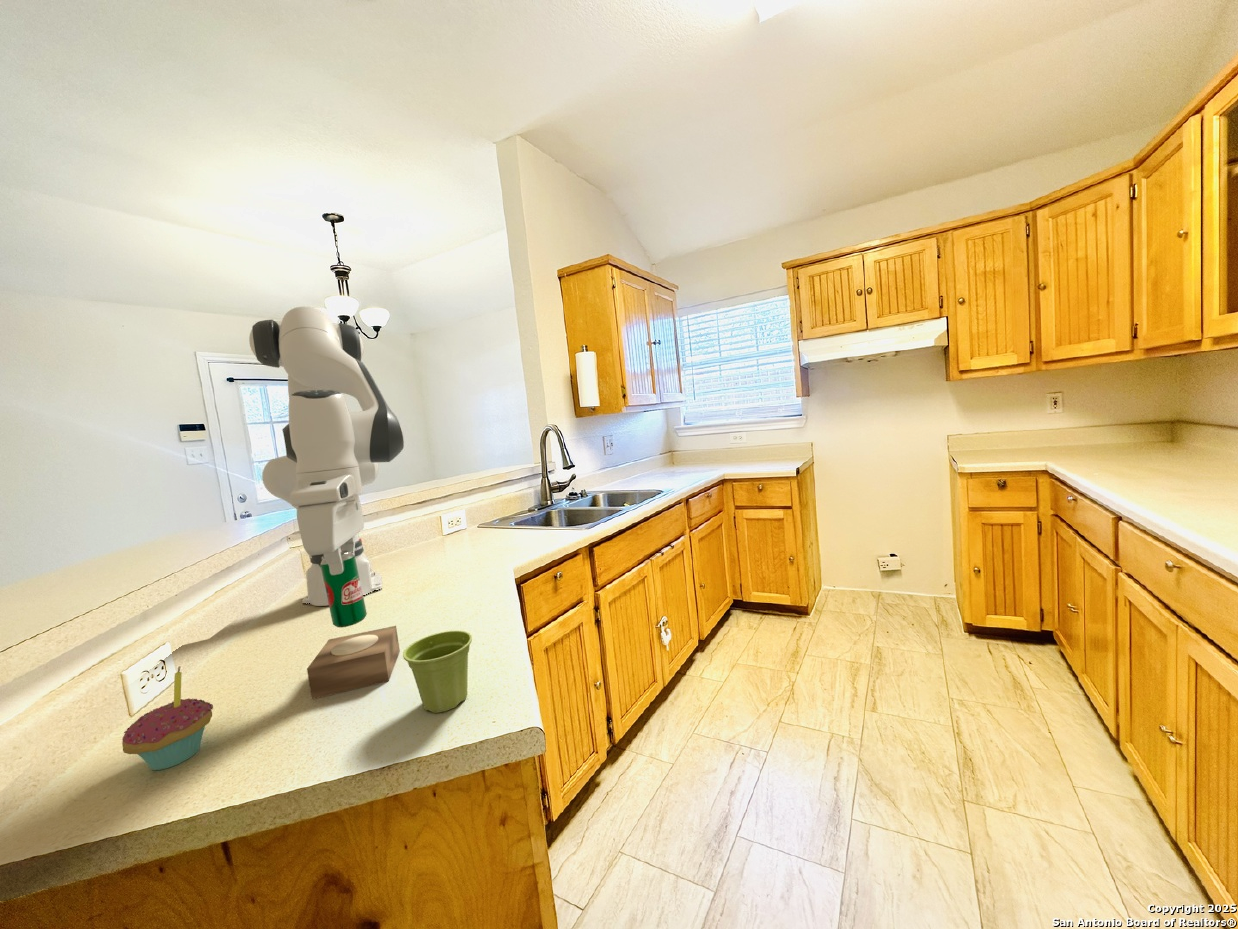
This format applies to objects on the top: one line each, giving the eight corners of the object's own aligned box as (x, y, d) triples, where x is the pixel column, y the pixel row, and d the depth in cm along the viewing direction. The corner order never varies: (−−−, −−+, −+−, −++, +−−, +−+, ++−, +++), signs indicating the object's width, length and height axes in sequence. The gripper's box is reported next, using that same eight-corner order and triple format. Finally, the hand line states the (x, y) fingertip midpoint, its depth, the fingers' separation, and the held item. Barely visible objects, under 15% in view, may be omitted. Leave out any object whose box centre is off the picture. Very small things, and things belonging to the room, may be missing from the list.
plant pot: (413, 694, 70) (405, 639, 69) (477, 676, 73) (470, 624, 72) (408, 729, 61) (399, 668, 60) (481, 708, 64) (473, 649, 63)
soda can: (351, 628, 74) (336, 557, 73) (326, 629, 75) (311, 559, 74) (374, 614, 79) (360, 548, 78) (350, 616, 80) (336, 550, 79)
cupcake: (226, 727, 66) (211, 648, 65) (206, 763, 58) (189, 674, 57) (145, 752, 62) (128, 668, 61) (113, 794, 54) (93, 699, 53)
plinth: (333, 666, 81) (328, 638, 81) (399, 651, 85) (395, 624, 84) (311, 699, 71) (306, 667, 70) (388, 681, 74) (384, 650, 74)
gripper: (329, 484, 84) (340, 556, 85) (284, 496, 65) (299, 590, 66) (366, 479, 86) (377, 550, 87) (334, 490, 66) (348, 582, 68)
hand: (343, 568), depth 76 cm, fingers closed on soda can, 5 cm apart
